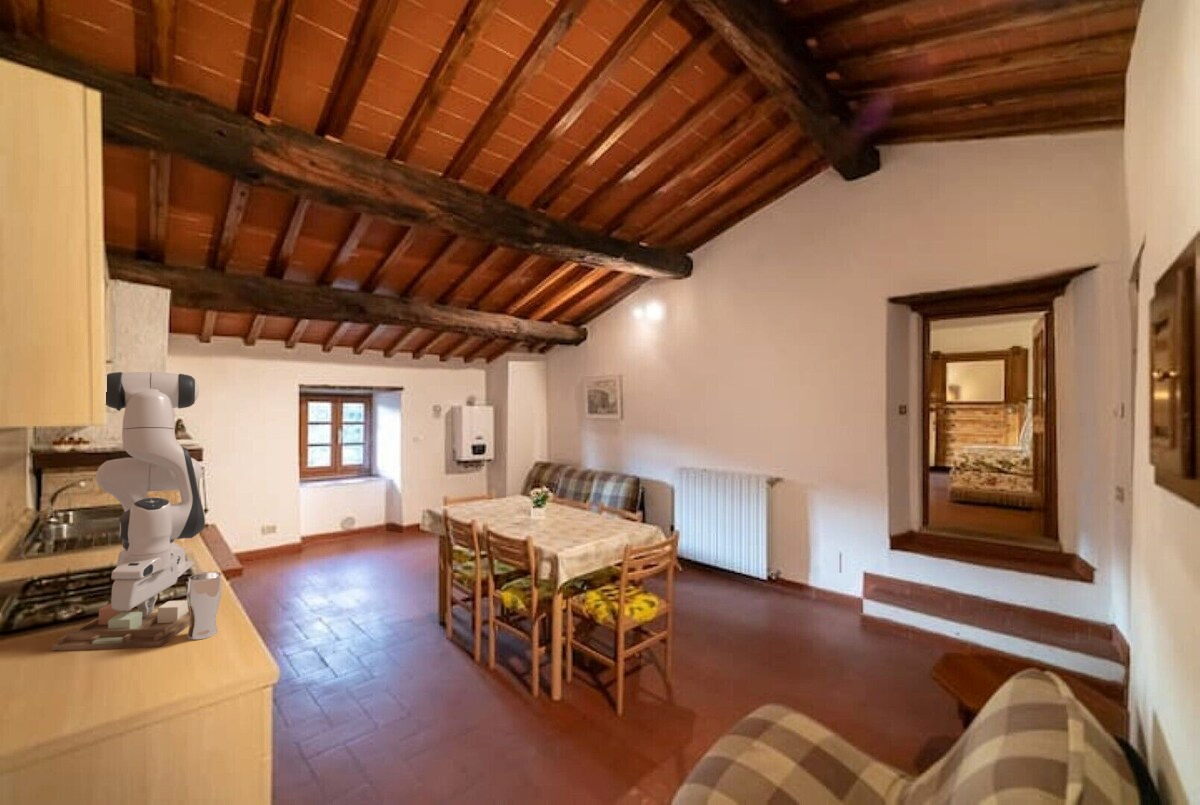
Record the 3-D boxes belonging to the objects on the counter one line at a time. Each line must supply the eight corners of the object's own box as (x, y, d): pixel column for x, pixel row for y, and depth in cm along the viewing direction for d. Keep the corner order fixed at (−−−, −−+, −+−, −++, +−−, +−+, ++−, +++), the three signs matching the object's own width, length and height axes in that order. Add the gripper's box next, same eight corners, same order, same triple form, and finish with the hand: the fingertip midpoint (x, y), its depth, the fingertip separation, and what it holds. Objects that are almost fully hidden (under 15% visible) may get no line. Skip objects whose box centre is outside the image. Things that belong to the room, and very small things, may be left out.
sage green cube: (120, 628, 129) (121, 612, 129) (141, 627, 130) (142, 611, 130) (107, 636, 125) (108, 620, 125) (129, 635, 126) (129, 619, 126)
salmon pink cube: (111, 617, 135) (112, 602, 135) (131, 616, 136) (132, 601, 136) (98, 624, 130) (99, 609, 130) (118, 624, 131) (119, 608, 131)
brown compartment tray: (108, 618, 137) (109, 606, 137) (202, 615, 141) (202, 604, 141) (51, 650, 119) (52, 637, 119) (160, 646, 124) (160, 633, 124)
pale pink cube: (168, 615, 137) (168, 600, 137) (187, 615, 138) (188, 600, 138) (157, 623, 133) (157, 607, 133) (176, 622, 134) (177, 607, 134)
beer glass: (183, 643, 126) (187, 582, 126) (185, 632, 132) (188, 573, 132) (219, 636, 130) (222, 577, 130) (219, 626, 136) (222, 569, 136)
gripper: (160, 549, 145) (158, 598, 145) (106, 574, 125) (103, 631, 125) (186, 549, 146) (183, 598, 146) (136, 574, 126) (133, 630, 126)
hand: (146, 613), depth 135 cm, fingers closed
